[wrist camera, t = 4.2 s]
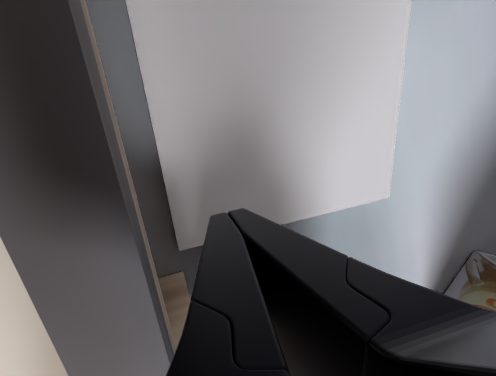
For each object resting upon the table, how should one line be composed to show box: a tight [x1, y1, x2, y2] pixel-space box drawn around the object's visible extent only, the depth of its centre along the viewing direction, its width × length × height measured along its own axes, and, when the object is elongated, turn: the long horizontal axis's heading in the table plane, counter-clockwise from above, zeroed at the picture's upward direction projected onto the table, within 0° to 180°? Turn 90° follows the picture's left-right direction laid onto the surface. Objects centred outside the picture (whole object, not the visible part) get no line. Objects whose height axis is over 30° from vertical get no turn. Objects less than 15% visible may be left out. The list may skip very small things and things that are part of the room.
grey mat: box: [125, 0, 412, 251], centre depth 19 cm, size 14×20×1 cm
